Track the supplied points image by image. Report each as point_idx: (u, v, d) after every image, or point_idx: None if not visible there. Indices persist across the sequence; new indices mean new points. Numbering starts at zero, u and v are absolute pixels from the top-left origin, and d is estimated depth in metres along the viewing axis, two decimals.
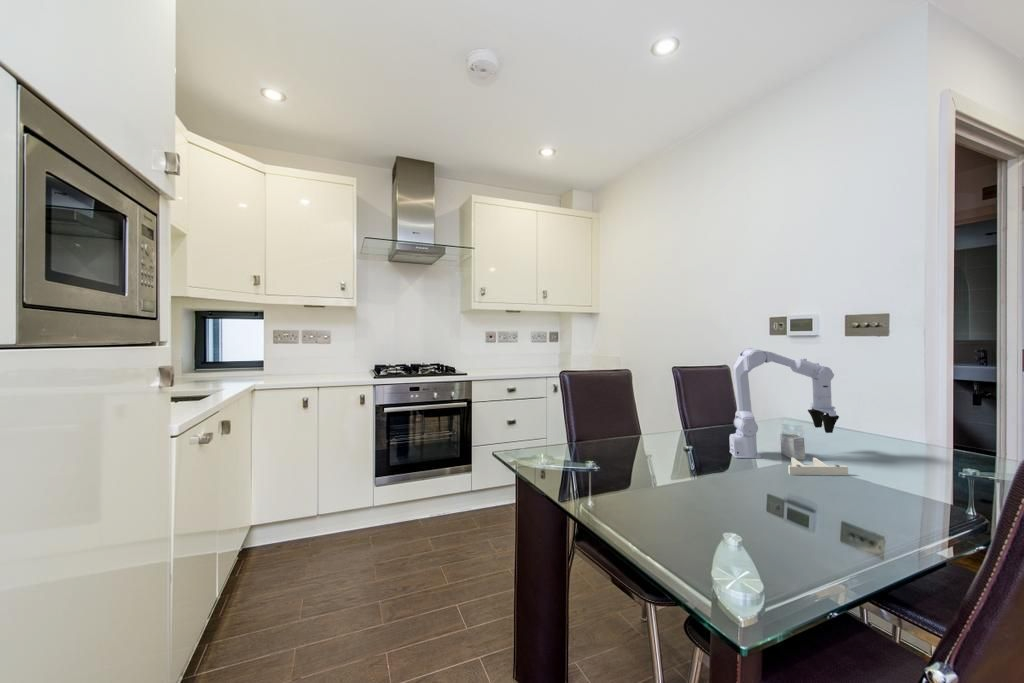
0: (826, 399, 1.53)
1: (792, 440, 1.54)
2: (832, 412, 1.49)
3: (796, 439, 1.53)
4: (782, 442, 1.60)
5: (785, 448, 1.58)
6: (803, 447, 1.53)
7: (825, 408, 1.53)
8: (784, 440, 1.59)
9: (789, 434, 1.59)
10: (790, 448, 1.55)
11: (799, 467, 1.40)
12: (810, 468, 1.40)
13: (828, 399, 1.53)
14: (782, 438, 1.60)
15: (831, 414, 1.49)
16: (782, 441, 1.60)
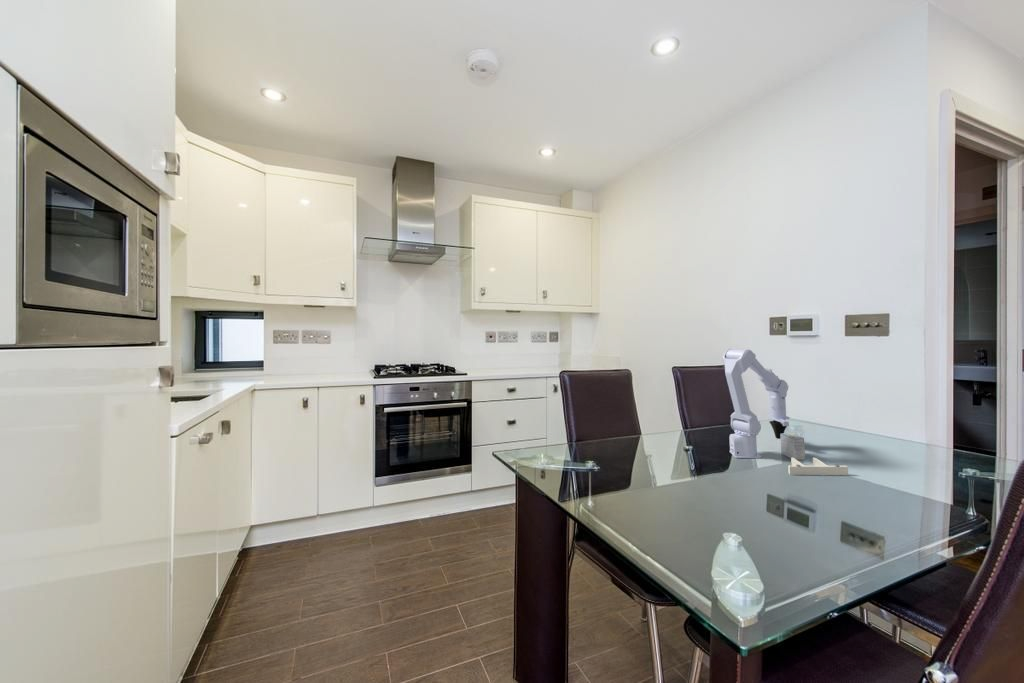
0: (781, 410, 1.66)
1: (792, 440, 1.54)
2: (785, 422, 1.62)
3: (796, 439, 1.53)
4: (782, 442, 1.60)
5: (785, 448, 1.58)
6: (803, 447, 1.53)
7: (780, 418, 1.66)
8: (784, 440, 1.59)
9: (789, 434, 1.59)
10: (790, 448, 1.55)
11: (799, 467, 1.40)
12: (810, 468, 1.40)
13: (782, 410, 1.66)
14: (782, 438, 1.60)
15: (784, 424, 1.62)
16: (782, 441, 1.60)
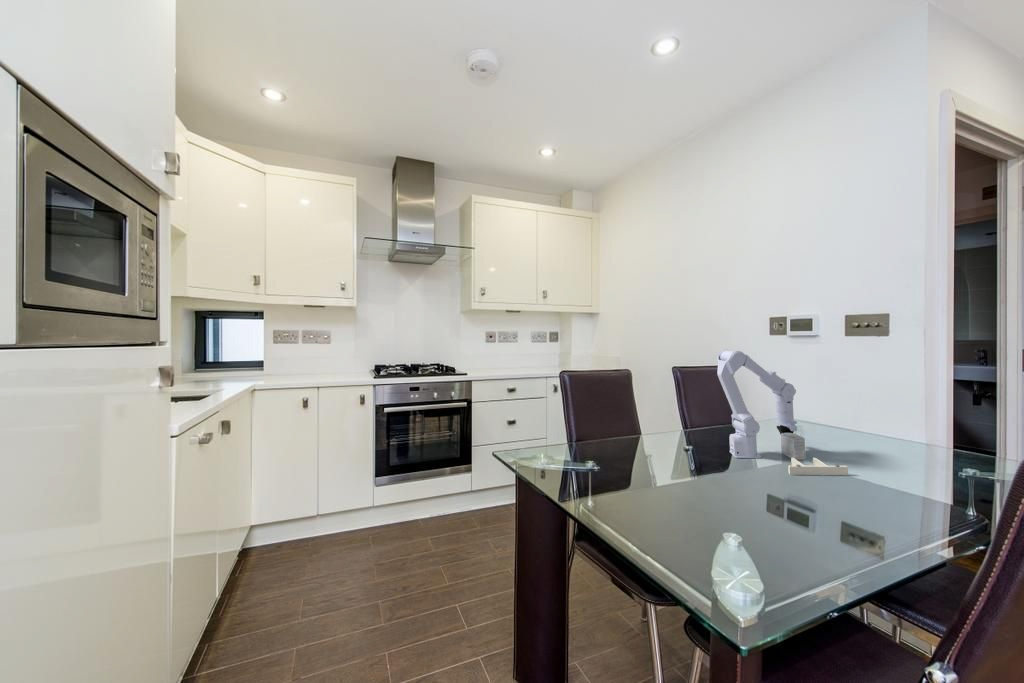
0: (788, 414, 1.60)
1: (792, 440, 1.54)
2: (793, 427, 1.55)
3: (796, 439, 1.53)
4: (783, 442, 1.60)
5: (786, 448, 1.58)
6: (803, 447, 1.53)
7: (787, 423, 1.60)
8: (784, 439, 1.59)
9: (789, 434, 1.59)
10: (790, 448, 1.55)
11: (799, 467, 1.40)
12: (810, 468, 1.40)
13: (790, 414, 1.59)
14: (783, 438, 1.60)
15: (792, 429, 1.56)
16: (783, 441, 1.60)
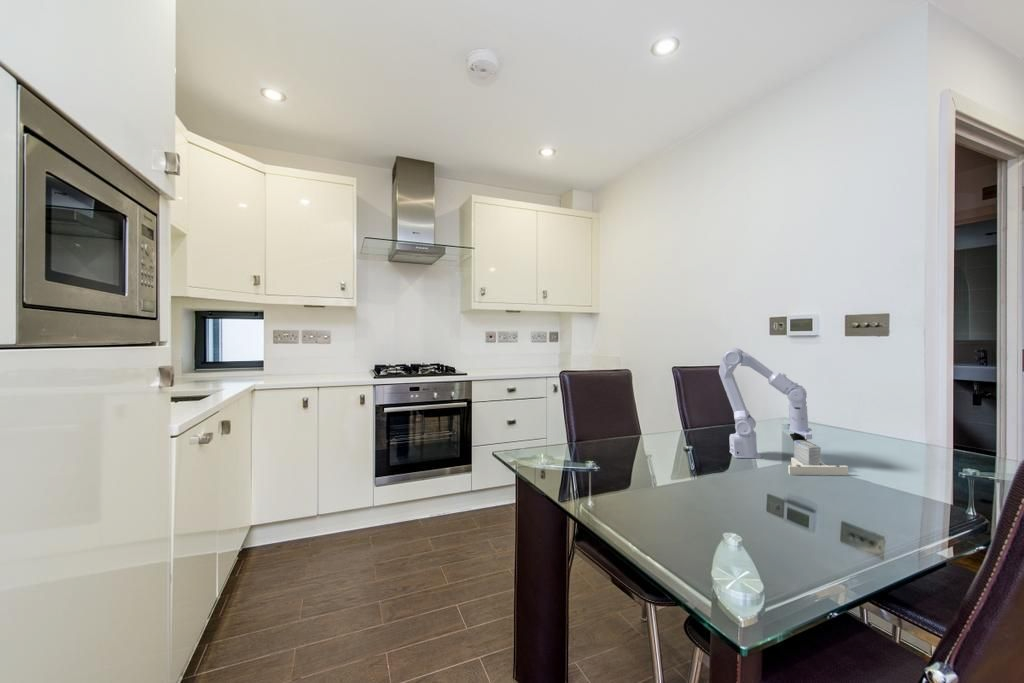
0: (802, 421, 1.49)
1: (808, 449, 1.43)
2: (808, 435, 1.44)
3: (812, 448, 1.43)
4: (795, 450, 1.49)
5: (799, 457, 1.48)
6: (819, 456, 1.43)
7: (801, 430, 1.49)
8: (798, 447, 1.48)
9: (803, 441, 1.48)
10: (805, 457, 1.45)
11: (799, 467, 1.40)
12: (810, 468, 1.40)
13: (804, 421, 1.48)
14: (796, 446, 1.49)
15: (807, 437, 1.44)
16: (796, 449, 1.49)
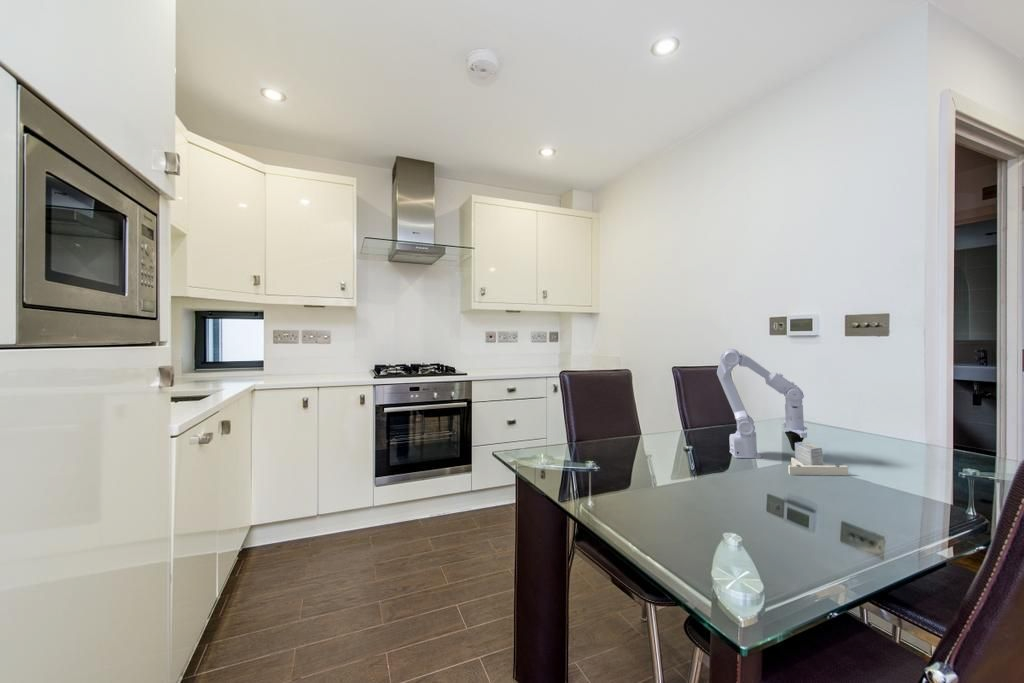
0: (798, 420, 1.51)
1: (809, 450, 1.42)
2: (803, 433, 1.47)
3: (814, 449, 1.41)
4: (797, 452, 1.48)
5: (801, 459, 1.46)
6: (821, 458, 1.42)
7: (797, 429, 1.52)
8: (799, 450, 1.47)
9: (804, 443, 1.47)
10: (807, 458, 1.43)
11: (799, 467, 1.40)
12: (810, 468, 1.40)
13: (800, 420, 1.51)
14: (797, 448, 1.48)
15: (802, 435, 1.48)
16: (797, 451, 1.48)
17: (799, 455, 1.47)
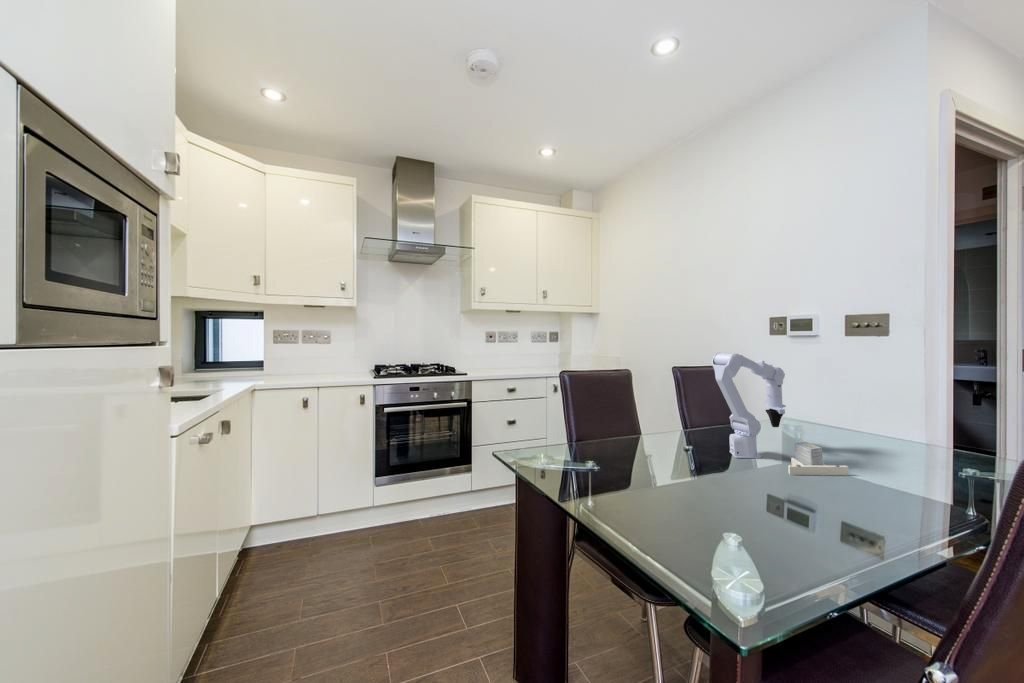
0: (777, 398, 1.64)
1: (809, 450, 1.42)
2: (781, 410, 1.60)
3: (814, 449, 1.41)
4: (797, 452, 1.48)
5: (801, 459, 1.46)
6: (821, 458, 1.42)
7: (776, 406, 1.64)
8: (799, 450, 1.47)
9: (804, 443, 1.47)
10: (807, 458, 1.43)
11: (799, 467, 1.40)
12: (810, 468, 1.40)
13: (779, 398, 1.64)
14: (797, 448, 1.48)
15: (780, 412, 1.60)
16: (797, 451, 1.48)
17: (799, 455, 1.47)
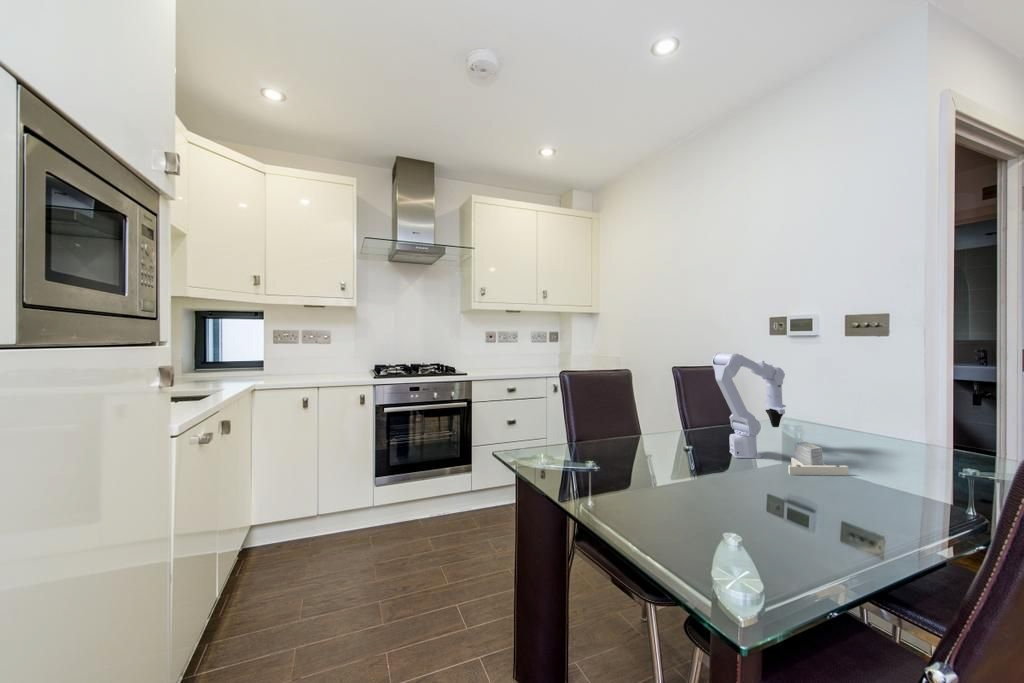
0: (777, 398, 1.64)
1: (809, 450, 1.42)
2: (781, 410, 1.60)
3: (814, 449, 1.41)
4: (797, 452, 1.48)
5: (801, 459, 1.46)
6: (821, 458, 1.42)
7: (776, 406, 1.64)
8: (799, 450, 1.47)
9: (804, 443, 1.47)
10: (807, 458, 1.43)
11: (799, 467, 1.40)
12: (810, 468, 1.40)
13: (779, 398, 1.64)
14: (797, 448, 1.48)
15: (780, 412, 1.60)
16: (797, 451, 1.48)
17: (799, 455, 1.47)
